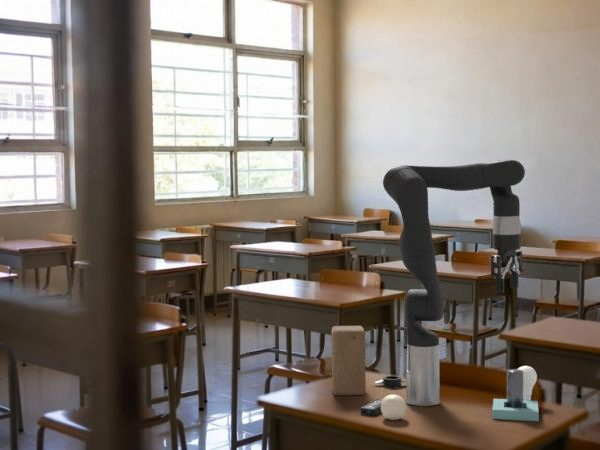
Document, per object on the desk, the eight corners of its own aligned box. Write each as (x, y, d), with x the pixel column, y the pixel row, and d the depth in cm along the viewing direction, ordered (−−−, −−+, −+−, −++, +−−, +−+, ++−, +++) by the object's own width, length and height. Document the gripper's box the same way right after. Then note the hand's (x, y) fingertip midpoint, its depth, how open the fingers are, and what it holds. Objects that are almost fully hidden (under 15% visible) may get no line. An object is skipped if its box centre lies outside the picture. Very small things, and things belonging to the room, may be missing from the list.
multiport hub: (392, 408, 228) (392, 400, 228) (374, 417, 219) (374, 409, 219) (378, 406, 231) (378, 398, 231) (360, 415, 222) (360, 407, 222)
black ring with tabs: (399, 391, 248) (399, 382, 248) (372, 386, 254) (372, 377, 254) (412, 386, 254) (412, 377, 254) (385, 382, 260) (385, 373, 260)
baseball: (407, 416, 219) (407, 392, 219) (404, 423, 212) (404, 398, 212) (382, 414, 221) (382, 390, 220) (379, 422, 213) (379, 397, 213)
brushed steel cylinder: (506, 415, 218) (506, 372, 218) (506, 411, 222) (506, 368, 222) (523, 416, 217) (523, 372, 217) (523, 412, 221) (523, 369, 221)
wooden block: (365, 395, 242) (365, 330, 241) (333, 396, 242) (332, 330, 241) (363, 388, 252) (363, 325, 251) (332, 388, 252) (331, 325, 251)
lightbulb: (538, 406, 227) (537, 368, 226) (515, 406, 228) (515, 367, 228) (536, 401, 233) (535, 364, 232) (514, 400, 234) (514, 363, 234)
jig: (492, 418, 215) (492, 409, 215) (493, 407, 227) (493, 398, 227) (538, 421, 212) (538, 412, 212) (537, 409, 224) (537, 400, 224)
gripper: (507, 234, 212) (507, 295, 214) (530, 230, 223) (531, 287, 224) (481, 233, 217) (482, 292, 218) (506, 229, 228) (506, 285, 229)
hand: (507, 290), depth 221 cm, fingers open, 8 cm apart
